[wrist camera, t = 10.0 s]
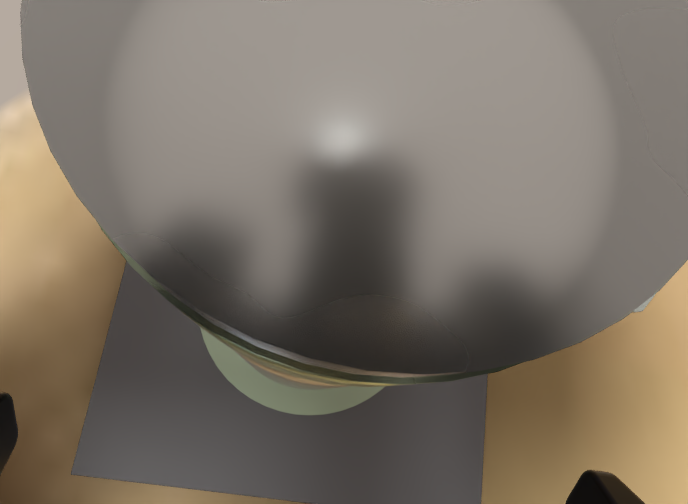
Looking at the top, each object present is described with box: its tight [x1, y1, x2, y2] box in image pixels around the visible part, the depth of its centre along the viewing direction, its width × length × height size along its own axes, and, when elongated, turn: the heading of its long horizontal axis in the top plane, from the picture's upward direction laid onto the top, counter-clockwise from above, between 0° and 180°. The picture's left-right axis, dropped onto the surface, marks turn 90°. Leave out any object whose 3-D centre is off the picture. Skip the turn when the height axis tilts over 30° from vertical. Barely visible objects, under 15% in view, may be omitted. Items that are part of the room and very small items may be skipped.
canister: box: [20, 0, 688, 390], centre depth 10 cm, size 6×6×13 cm
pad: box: [71, 261, 488, 504], centre depth 17 cm, size 12×12×1 cm
